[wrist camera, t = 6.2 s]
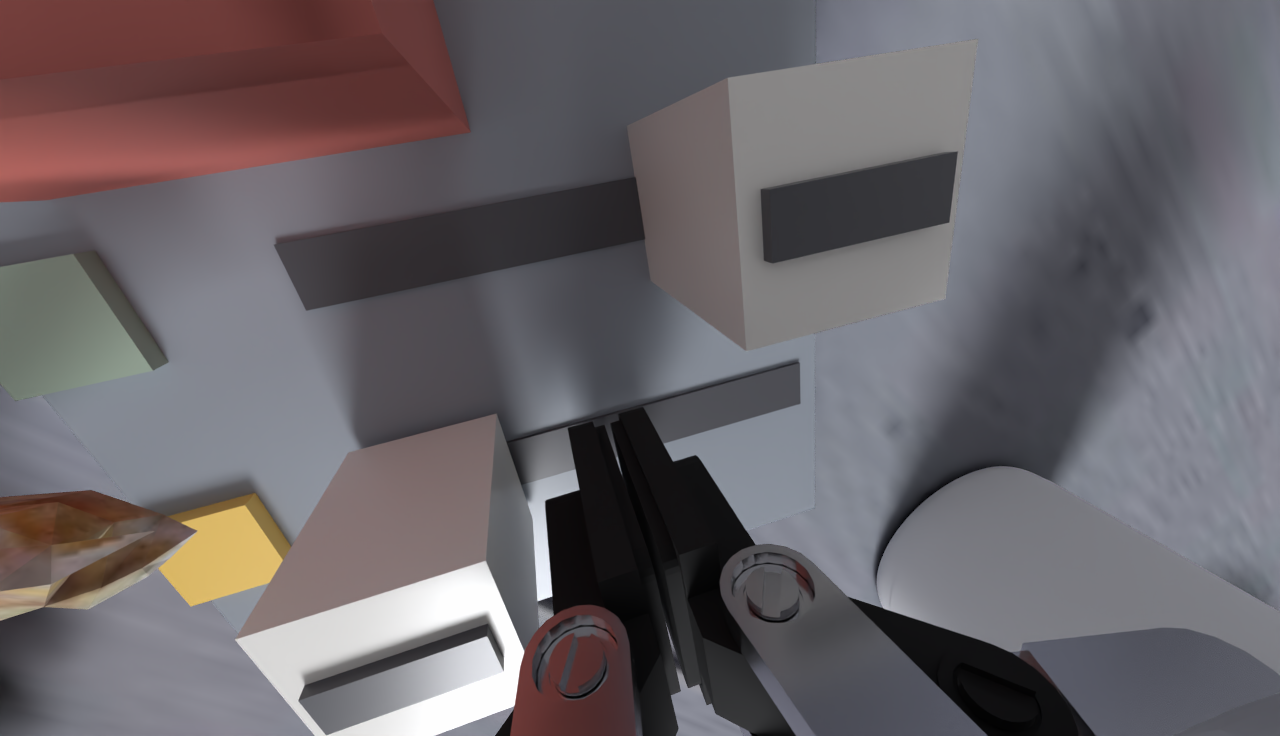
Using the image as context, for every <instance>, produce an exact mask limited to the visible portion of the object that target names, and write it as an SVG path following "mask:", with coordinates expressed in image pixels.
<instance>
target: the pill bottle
mask: <svg viewBox="0 0 1280 736" xmlns="http://www.w3.org/2000/svg"><path fill="white" fill-rule="evenodd" d="M877 592H878V596H879V599H880V602H881V604H882V606H883V608H884V609H886V610H890V611H893V612H896V613H899V614H902V615H905V616H908V617H911V618H914V619H917V620H920V621H923V622H926V623H929V624H932V625H935V626H939V627H942V628H945V629H948V630H951V631H954V632H957V633H960V634H963V635H966V636H969V637H972V638H975V639H978V640H981V641H984V642H988V643H990V644H993V645H995V646H997V647H1000V648H1002V649H1004V650H1006V651H1009V652H1016V651H1021V648H1022V644H1023V643H1028V642H1037V641H1046V640H1055V639H1064V638H1073V637H1082V636H1091V635H1100V634H1109V633H1118V632H1128V631H1137V630H1146V629H1155V628H1164V627H1165V628H1183V629H1190V630H1193V631H1197V632H1200V633H1204V634H1207V635H1211V636H1214V637H1217V638H1219V639H1221V640H1223V641H1225V642H1227V643H1229V644H1231V645H1234V646H1236V647H1238V648H1240V649H1242V650H1244V651H1246V652H1247V653H1249V654H1250V655H1252V656H1253V657H1255V658H1256V659H1258V660H1259V661H1261V662H1262V663H1264V664H1265V665H1267V666H1268V667H1270V668H1271V669H1273V670H1274V671H1275V672H1276V673H1278V674H1279V675H1280V611H1278V610H1276V609H1275V608H1273V607H1271V606H1269V605H1268V604H1266V603H1264V602H1262V601H1261V600H1259V599H1257V598H1255V597H1254V596H1252V595H1250V594H1248V593H1247V592H1245V591H1243V590H1241V589H1240V588H1238V587H1236V586H1234V585H1232V584H1231V583H1229V582H1227V581H1225V580H1224V579H1222V578H1220V577H1218V576H1217V575H1215V574H1213V573H1211V572H1210V571H1208V570H1206V569H1204V568H1203V567H1201V566H1199V565H1197V564H1196V563H1194V562H1192V561H1190V560H1189V559H1187V558H1185V557H1183V556H1182V555H1180V554H1178V553H1176V552H1175V551H1173V550H1171V549H1169V548H1168V547H1166V546H1164V545H1162V544H1161V543H1159V542H1157V541H1155V540H1153V539H1152V538H1150V537H1148V536H1146V535H1145V534H1143V533H1141V532H1139V531H1138V530H1136V529H1134V528H1132V527H1131V526H1129V525H1127V524H1125V523H1124V522H1122V521H1120V520H1118V519H1117V518H1115V517H1113V516H1111V515H1110V514H1108V513H1106V512H1104V511H1103V510H1101V509H1099V508H1097V507H1096V506H1094V505H1092V504H1090V503H1089V502H1087V501H1085V500H1083V499H1082V498H1080V497H1078V496H1076V495H1075V494H1073V493H1071V492H1069V491H1067V490H1066V489H1064V488H1062V487H1060V486H1059V485H1057V484H1055V483H1053V482H1052V481H1049V480H1047V479H1044V478H1042V477H1041V476H1039V475H1037V474H1034V473H1032V472H1030V471H1027V470H1024V469H1020V468H1015V467H1008V466H997V467H989V468H984V469H981V470H977V471H974V472H972V473H969V474H967V475H964V476H962V477H960V478H958V479H956V480H954V481H952V482H951V483H949V484H947V485H946V486H944V487H942V488H941V489H939V490H938V491H937V492H935V493H934V494H933V495H931V496H930V497H929V498H928V499H926V500H925V501H924V502H923V503H922V504H921V505H919V506H918V507H917V508H916V509H915V510H914V511H913V512H912V513H911V514H910V515H909V517H908V518H907V519H906V520H905V521H904V522H903V524H902V525H901V526H900V527H899V529H898V530H897V531H896V533H895V534H894V536H893V537H892V539H891V540H890V542H889V544H888V546H887V548H886V550H885V552H884V554H883V556H882V559H881V561H880V565H879V568H878V573H877Z"/></svg>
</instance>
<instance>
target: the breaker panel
mask: <svg viewBox="0 0 1280 736" xmlns="http://www.w3.org/2000/svg"><path fill="white" fill-rule="evenodd" d="M433 1H434V4H435V8H436V11H437V15H438V19H439V22H440V26H441V29H442V33H443V36H444V40H445V43H446V47H447V50H448V54H449V57H450V61H451V64H452V68H453V71H454V75H455V78H456V82H457V85H458V89H459V92H460V96H461V99H462V103H463V106H464V110H465V113H466V117H467V120H468V124H469V127H470V131H471V132H470V133H464V134H457V135H451V136H445V137H439V138H432V139H426V140H420V141H414V142H407V143H401V144H395V145H389V146H382V147H376V148H370V149H364V150H357V151H351V152H345V153H339V154H332V155H326V156H320V157H314V158H307V159H301V160H295V161H288V162H282V163H276V164H270V165H263V166H257V167H251V168H245V169H238V170H232V171H226V172H220V173H213V174H207V175H201V176H195V177H188V178H182V179H176V180H170V181H163V182H157V183H151V184H145V185H138V186H132V187H126V188H120V189H113V190H107V191H101V192H95V193H88V194H82V195H76V196H70V197H63V198H57V199H51V200H44V201H22V202H0V384H1V385H2V386H3V388H4V389H5V390H6V391H7V392H8V393H9V395H10V396H11V397H12V398H13V399H14V400H15V401H18V400H22V399H27V398H31V397H36V396H41V395H42V396H43V398H44V399H45V400H46V401H47V402H48V404H49V405H50V406H51V407H52V408H53V410H54V411H55V412H56V413H57V415H58V416H59V417H60V418H61V419H62V421H63V422H64V423H65V424H66V426H67V427H68V428H69V429H70V430H71V432H72V433H73V434H74V435H75V436H76V438H77V439H78V440H79V441H80V443H81V444H82V445H83V446H84V447H85V449H86V450H87V451H88V452H89V454H90V455H91V456H92V457H93V458H94V460H95V461H96V462H97V463H98V464H99V466H100V467H101V468H102V469H103V471H104V472H105V473H106V474H107V475H108V477H109V478H110V479H111V480H112V482H113V483H114V484H115V485H116V486H117V488H118V489H119V490H120V491H121V492H122V494H123V495H124V496H125V497H126V499H127V500H128V501H129V502H130V503H131V504H134V505H137V506H140V507H143V508H146V509H149V510H152V511H154V512H157V513H160V514H163V515H165V516H167V517H170V518H172V519H174V520H176V521H178V522H180V523H182V524H184V525H186V526H188V527H191V528H193V529H195V530H197V532H196V533H195V534H194V535H193V536H192V537H191V538H190V539H189V540H188V541H187V542H186V543H185V544H184V545H183V546H182V547H181V548H180V549H179V550H178V551H177V552H176V553H175V554H174V555H173V556H172V557H171V558H170V559H169V560H167V561H166V562H165V563H164V564H163V565H161V566H160V567H159V568H158V569H159V570H160V571H161V572H162V573H163V575H164V576H165V577H166V578H167V579H168V580H169V582H170V583H171V584H172V585H173V586H174V587H175V589H176V590H177V591H178V592H179V593H180V595H181V596H182V597H183V598H184V599H185V600H186V602H187V603H188V604H189V605H190V606H194V605H197V604H201V603H204V602H207V601H211V602H212V603H213V604H214V606H215V607H216V608H217V609H218V611H219V612H220V613H221V614H222V615H223V617H224V618H225V619H226V620H227V621H228V623H229V624H230V625H231V626H232V628H233V629H234V630H235V631H236V632H237V634H239V632H240V631H241V629H242V627H243V626H244V624H245V622H246V621H247V619H248V617H249V616H250V614H251V612H252V611H253V609H254V607H255V606H256V604H257V603H258V601H259V599H260V598H261V596H262V594H263V593H264V591H265V589H266V588H267V586H268V584H269V583H270V581H271V579H272V578H273V576H274V574H275V573H276V571H277V570H278V568H279V566H280V565H281V563H282V561H283V560H284V558H285V556H286V555H287V553H288V551H289V550H290V548H291V546H292V545H293V543H294V541H295V540H296V538H297V537H298V535H299V533H300V532H301V530H302V528H303V527H304V525H305V523H306V522H307V520H308V518H309V517H310V515H311V513H312V512H313V510H314V508H315V507H316V505H317V504H318V502H319V500H320V499H321V497H322V495H323V494H324V492H325V490H326V489H327V487H328V485H329V484H330V482H331V480H332V479H333V477H334V475H335V474H336V472H337V471H338V469H339V467H340V466H341V464H342V462H343V461H344V459H345V457H346V456H347V454H348V452H352V451H356V450H359V449H363V448H367V447H371V446H375V445H378V444H382V443H386V442H390V441H394V440H397V439H401V438H405V437H409V436H413V435H416V434H420V433H424V432H428V431H432V430H435V429H439V428H443V427H447V426H451V425H455V424H458V423H462V422H466V421H470V420H474V419H477V418H481V417H485V416H489V415H493V414H496V413H497V416H498V419H499V422H500V425H501V428H502V431H503V434H504V437H505V440H506V442H507V445H508V448H509V451H510V454H511V457H512V460H513V463H514V466H515V469H516V471H517V474H518V477H519V480H520V483H521V486H522V489H523V492H524V495H525V498H526V501H527V503H528V506H529V509H530V512H531V515H532V518H533V531H534V549H535V567H536V584H537V601H540V600H543V599H546V598H549V597H552V586H551V574H550V561H549V549H548V537H547V524H546V512H545V501H546V500H547V499H551V498H554V497H557V496H561V495H564V494H567V493H571V492H574V491H577V490H579V485H578V480H577V474H576V469H575V464H574V459H573V454H572V449H571V444H570V439H569V433H568V427H572V426H575V425H579V424H583V423H586V422H590V421H593V424H594V427H597V426H601V425H605V428H606V431H607V434H608V437H609V439H610V442H611V445H612V448H613V451H614V454H615V457H616V460H617V462H618V465H619V468H620V464H619V460H618V455H617V451H616V447H615V443H614V438H613V434H612V430H611V425H610V423H611V422H615V421H618V420H619V418H618V413H622V412H626V411H629V410H633V409H636V408H640V407H643V408H644V409H645V411H646V413H647V415H648V416H649V418H650V420H651V422H652V424H653V426H654V427H655V429H656V431H657V433H658V435H659V437H660V438H661V440H662V442H663V444H664V446H665V448H666V449H667V451H668V453H669V455H670V457H671V459H672V461H673V462H674V461H677V460H680V459H684V458H687V457H690V456H694V455H696V456H698V457H699V459H700V460H701V461H702V463H703V464H704V466H705V467H706V469H707V470H708V472H709V474H710V475H711V477H712V478H713V480H714V481H715V483H716V484H717V486H718V488H719V489H720V491H721V492H722V494H723V495H724V497H725V498H726V500H727V501H728V503H729V505H730V506H731V508H732V509H733V511H734V512H735V514H736V515H737V517H738V519H739V520H740V522H741V523H742V525H743V526H744V528H745V529H746V531H748V530H751V529H754V528H757V527H760V526H763V525H766V524H769V523H772V522H775V521H778V520H781V519H784V518H787V517H790V516H793V515H796V514H799V513H802V512H805V511H808V510H811V509H814V508H815V333H818V332H822V331H826V330H829V329H833V328H837V327H841V326H845V325H848V324H852V323H856V322H860V321H863V320H867V319H871V318H875V317H879V316H882V315H886V314H890V313H894V312H898V311H901V310H905V309H909V308H913V307H916V306H920V305H924V304H928V303H932V302H935V301H939V300H943V299H945V296H946V288H947V281H948V273H949V265H950V257H951V249H952V241H953V233H954V225H955V217H956V210H957V202H958V194H959V186H960V178H961V170H962V162H963V154H964V146H965V139H966V131H967V123H968V115H969V107H970V99H971V91H972V83H973V75H974V68H975V60H976V52H977V44H978V39H974V40H968V41H962V42H955V43H949V44H942V45H936V46H929V47H923V48H916V49H910V50H903V51H897V52H890V53H884V54H877V55H871V56H865V57H858V58H852V59H845V60H839V61H832V62H826V63H819V64H816V0H433ZM620 471H621V468H620ZM621 474H622V472H621Z"/></svg>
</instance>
